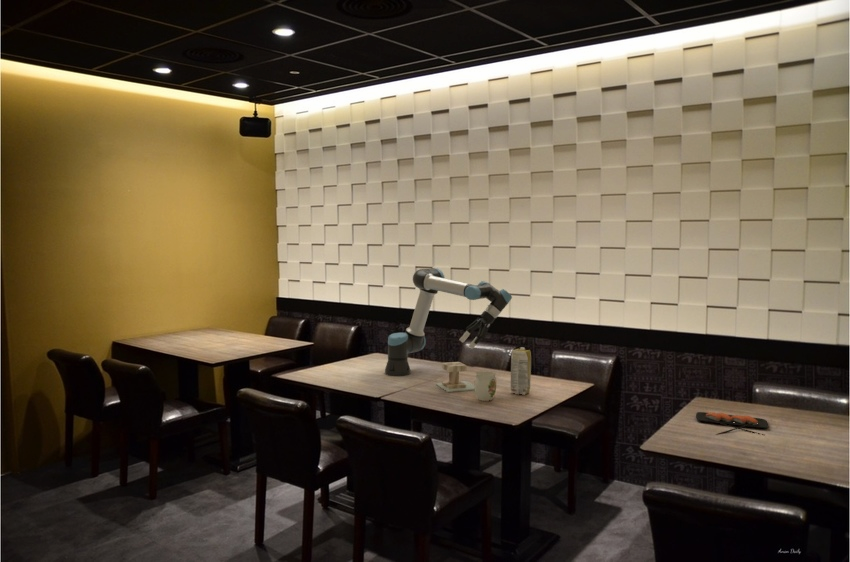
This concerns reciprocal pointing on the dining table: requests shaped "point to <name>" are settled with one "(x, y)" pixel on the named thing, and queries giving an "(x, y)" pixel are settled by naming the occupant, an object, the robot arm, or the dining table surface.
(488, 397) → the cream mug
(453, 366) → the stool
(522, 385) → the juice carton
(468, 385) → the mat
